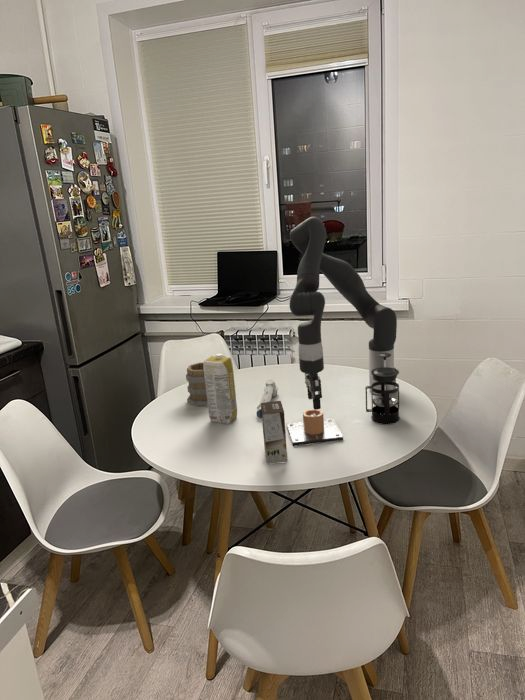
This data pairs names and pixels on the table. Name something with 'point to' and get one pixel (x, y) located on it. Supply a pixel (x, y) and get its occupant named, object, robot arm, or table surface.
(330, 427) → the plate
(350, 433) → the table surface
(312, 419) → the octagonal hollow tube
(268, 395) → the toothbrush head
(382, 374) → the french press
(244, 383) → the table surface
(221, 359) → the juice carton
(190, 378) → the tankard
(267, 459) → the coffee box
